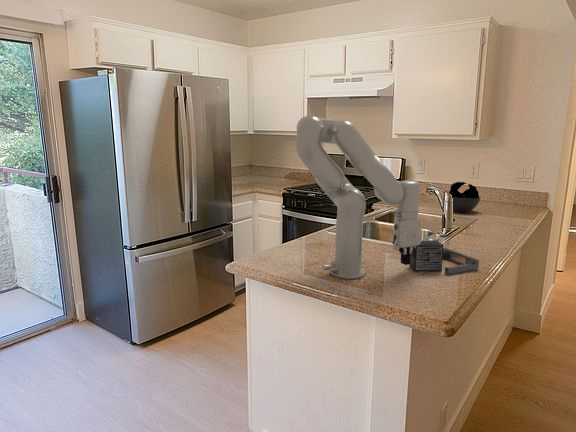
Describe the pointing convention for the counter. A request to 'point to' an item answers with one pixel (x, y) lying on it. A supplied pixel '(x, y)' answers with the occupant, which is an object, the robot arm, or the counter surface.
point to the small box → (427, 257)
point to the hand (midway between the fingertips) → (405, 263)
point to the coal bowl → (464, 197)
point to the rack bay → (459, 262)
